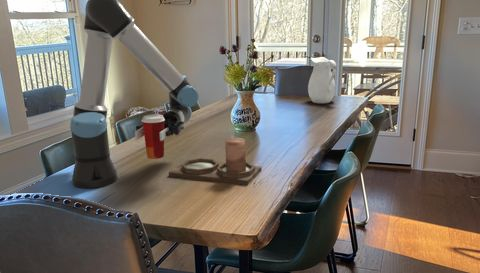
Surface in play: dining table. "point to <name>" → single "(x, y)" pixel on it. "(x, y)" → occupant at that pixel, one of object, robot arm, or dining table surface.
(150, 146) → the paper cup
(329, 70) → the pitcher
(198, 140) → the dining table surface
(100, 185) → the robot arm
